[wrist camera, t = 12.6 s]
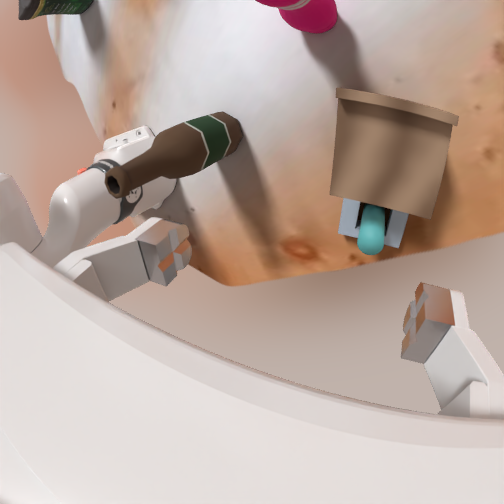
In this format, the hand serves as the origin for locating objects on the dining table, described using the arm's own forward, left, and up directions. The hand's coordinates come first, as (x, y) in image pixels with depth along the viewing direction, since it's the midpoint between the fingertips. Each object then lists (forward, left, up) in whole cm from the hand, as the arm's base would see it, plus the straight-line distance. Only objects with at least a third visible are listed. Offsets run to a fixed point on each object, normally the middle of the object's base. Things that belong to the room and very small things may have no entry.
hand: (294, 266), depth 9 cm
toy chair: (+4, -1, -34) cm, 34 cm away
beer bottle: (-22, -4, -34) cm, 41 cm away
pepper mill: (-7, +16, -34) cm, 39 cm away
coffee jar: (-59, +35, -34) cm, 77 cm away
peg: (+4, -13, -34) cm, 37 cm away
